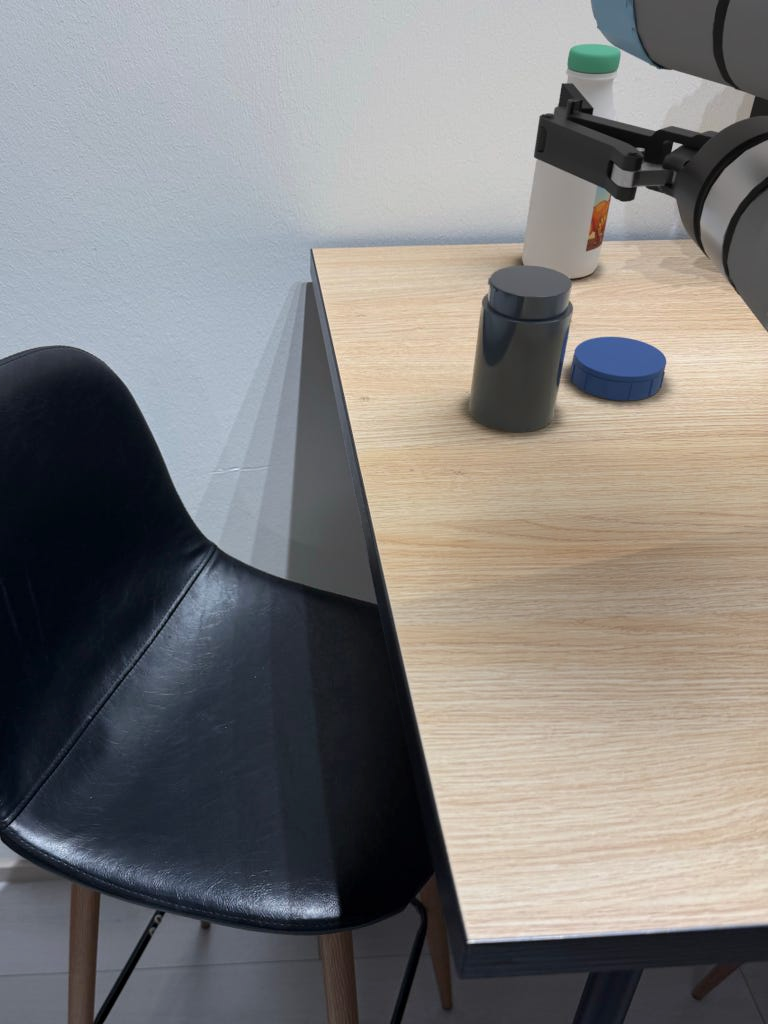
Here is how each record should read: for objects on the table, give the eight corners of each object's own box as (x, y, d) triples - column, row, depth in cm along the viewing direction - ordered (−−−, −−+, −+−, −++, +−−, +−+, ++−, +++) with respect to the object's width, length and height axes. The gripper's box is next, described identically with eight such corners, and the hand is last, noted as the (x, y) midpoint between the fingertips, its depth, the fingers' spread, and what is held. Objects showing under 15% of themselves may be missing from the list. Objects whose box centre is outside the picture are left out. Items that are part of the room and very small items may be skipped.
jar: (528, 386, 87) (549, 258, 80) (569, 424, 82) (595, 292, 75) (454, 398, 86) (469, 269, 79) (492, 438, 81) (511, 304, 74)
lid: (553, 381, 88) (557, 357, 87) (597, 352, 92) (602, 328, 91) (634, 410, 84) (640, 385, 83) (675, 378, 88) (682, 353, 87)
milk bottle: (561, 287, 103) (599, 62, 90) (505, 263, 108) (534, 46, 95) (612, 269, 107) (657, 49, 94) (556, 247, 111) (591, 35, 98)
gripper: (528, 275, 59) (476, 161, 75) (966, 275, 59) (821, 161, 75) (549, 133, 54) (489, 44, 70) (1028, 133, 54) (858, 43, 70)
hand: (660, 104), depth 73 cm, fingers open, 13 cm apart
